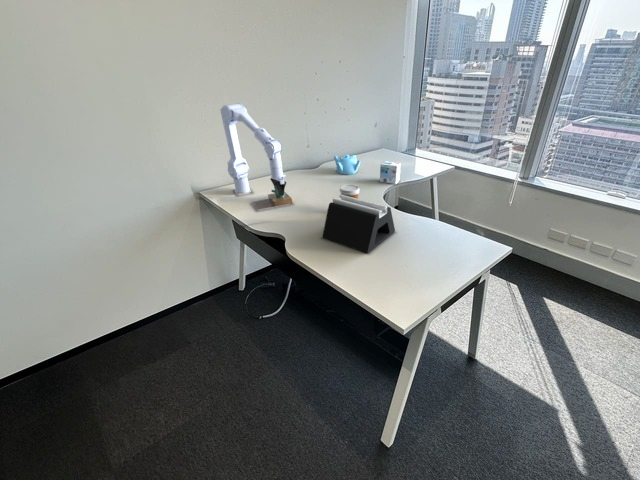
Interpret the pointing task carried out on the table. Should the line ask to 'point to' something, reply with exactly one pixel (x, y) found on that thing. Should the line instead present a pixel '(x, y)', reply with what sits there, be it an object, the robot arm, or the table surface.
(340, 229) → the device stand
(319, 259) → the table surface
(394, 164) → the light bulb box
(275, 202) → the tier stand
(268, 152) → the robot arm
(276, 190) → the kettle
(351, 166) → the teapot
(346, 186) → the disposable coffee cup
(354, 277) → the table surface
